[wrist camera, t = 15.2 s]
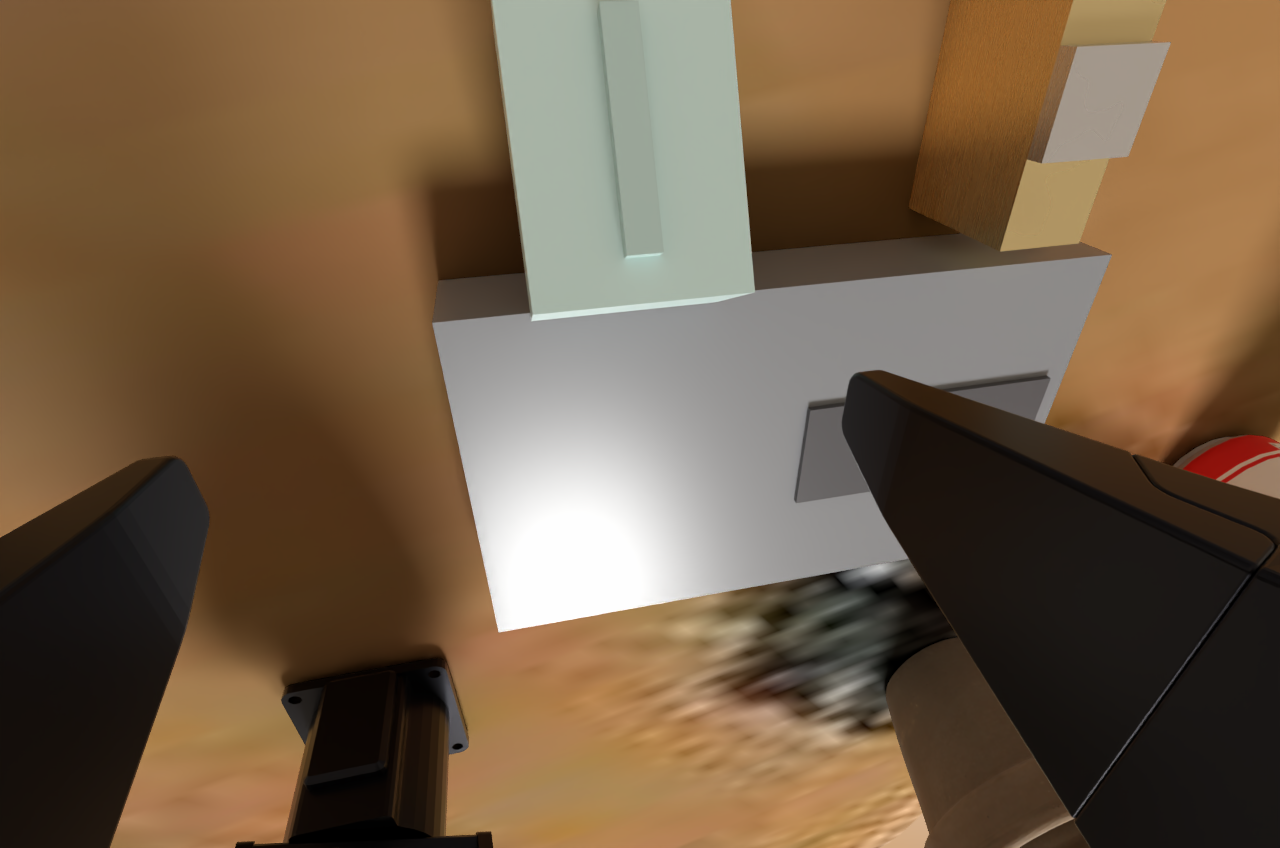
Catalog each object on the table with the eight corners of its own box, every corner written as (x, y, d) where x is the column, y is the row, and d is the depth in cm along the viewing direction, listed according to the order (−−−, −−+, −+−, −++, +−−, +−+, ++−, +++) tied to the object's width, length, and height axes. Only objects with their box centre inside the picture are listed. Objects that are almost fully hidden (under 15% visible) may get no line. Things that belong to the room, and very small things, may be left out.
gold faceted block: (1043, -68, 17) (1220, -90, 13) (973, 200, 21) (1093, 249, 17) (962, -67, 17) (1118, -89, 13) (906, 206, 21) (1012, 258, 17)
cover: (716, 302, 17) (761, 290, 14) (530, 321, 17) (533, 314, 13) (690, 27, 16) (732, -54, 13) (493, 33, 16) (485, -52, 12)
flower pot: (1072, 619, 36) (1244, 798, 28) (944, 737, 41) (1061, 921, 33) (932, 583, 32) (1091, 786, 24) (807, 721, 37) (902, 930, 28)
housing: (952, 496, 29) (999, 546, 26) (496, 571, 25) (498, 637, 23) (1041, 226, 22) (1117, 256, 19) (438, 280, 19) (431, 326, 16)
